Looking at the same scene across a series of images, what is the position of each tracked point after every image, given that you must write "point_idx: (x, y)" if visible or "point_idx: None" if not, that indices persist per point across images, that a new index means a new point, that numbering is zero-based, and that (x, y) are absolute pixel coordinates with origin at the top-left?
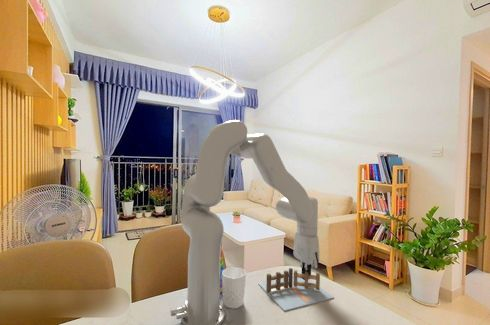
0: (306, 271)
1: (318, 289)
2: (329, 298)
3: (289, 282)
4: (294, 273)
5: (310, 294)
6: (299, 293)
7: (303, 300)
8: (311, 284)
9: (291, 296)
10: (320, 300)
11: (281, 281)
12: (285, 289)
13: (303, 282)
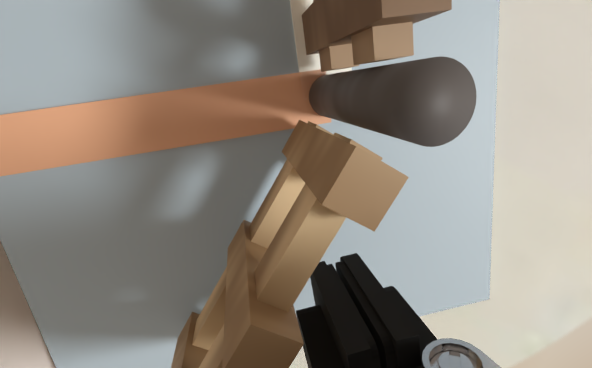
0: (329, 364)
1: (182, 333)
2: (54, 362)
3: (332, 75)
4: (340, 150)
5: (145, 230)
6: (173, 127)
7: (27, 105)
8: (213, 303)
9: (131, 7)
10: (19, 274)
11: (451, 48)
12: (287, 10)
13: (271, 235)
